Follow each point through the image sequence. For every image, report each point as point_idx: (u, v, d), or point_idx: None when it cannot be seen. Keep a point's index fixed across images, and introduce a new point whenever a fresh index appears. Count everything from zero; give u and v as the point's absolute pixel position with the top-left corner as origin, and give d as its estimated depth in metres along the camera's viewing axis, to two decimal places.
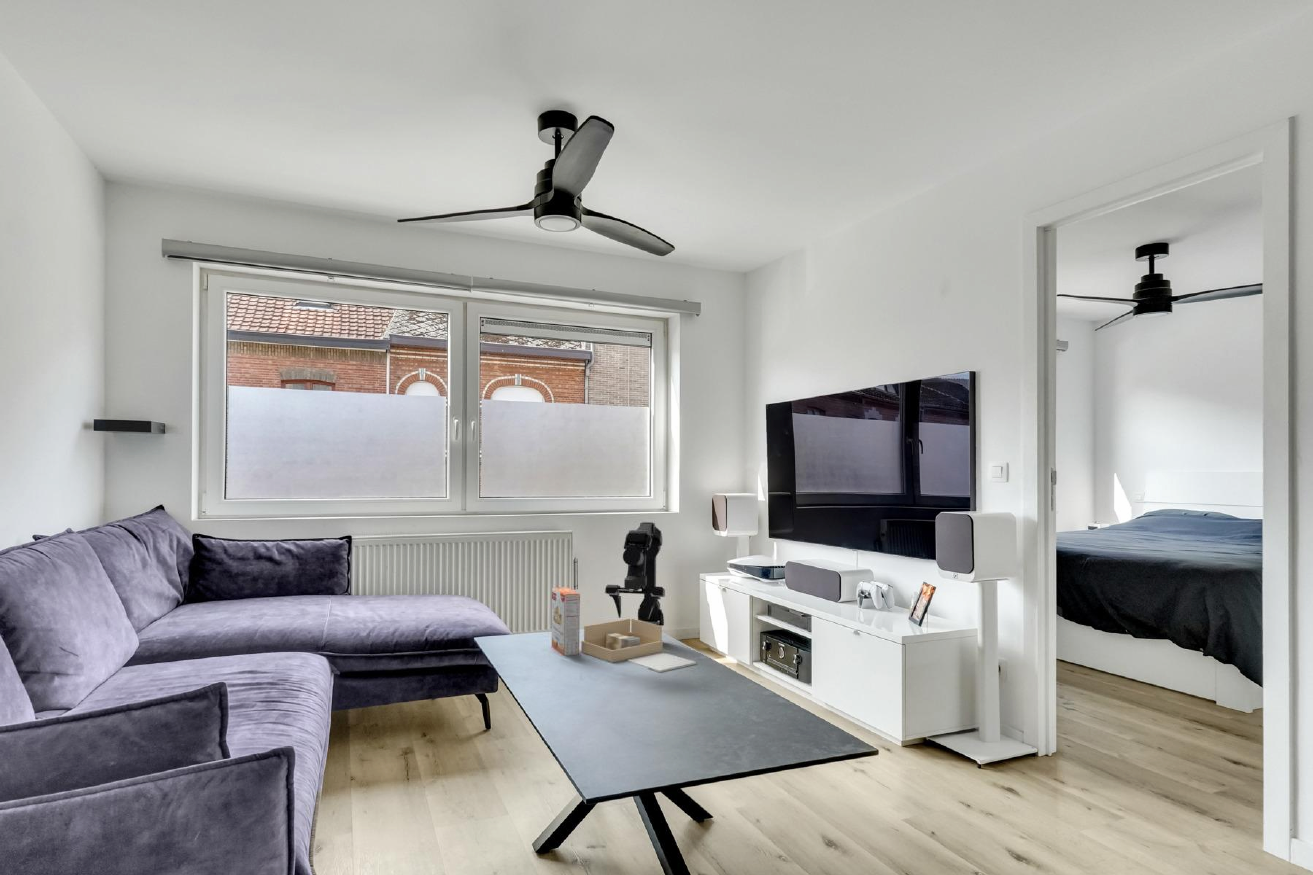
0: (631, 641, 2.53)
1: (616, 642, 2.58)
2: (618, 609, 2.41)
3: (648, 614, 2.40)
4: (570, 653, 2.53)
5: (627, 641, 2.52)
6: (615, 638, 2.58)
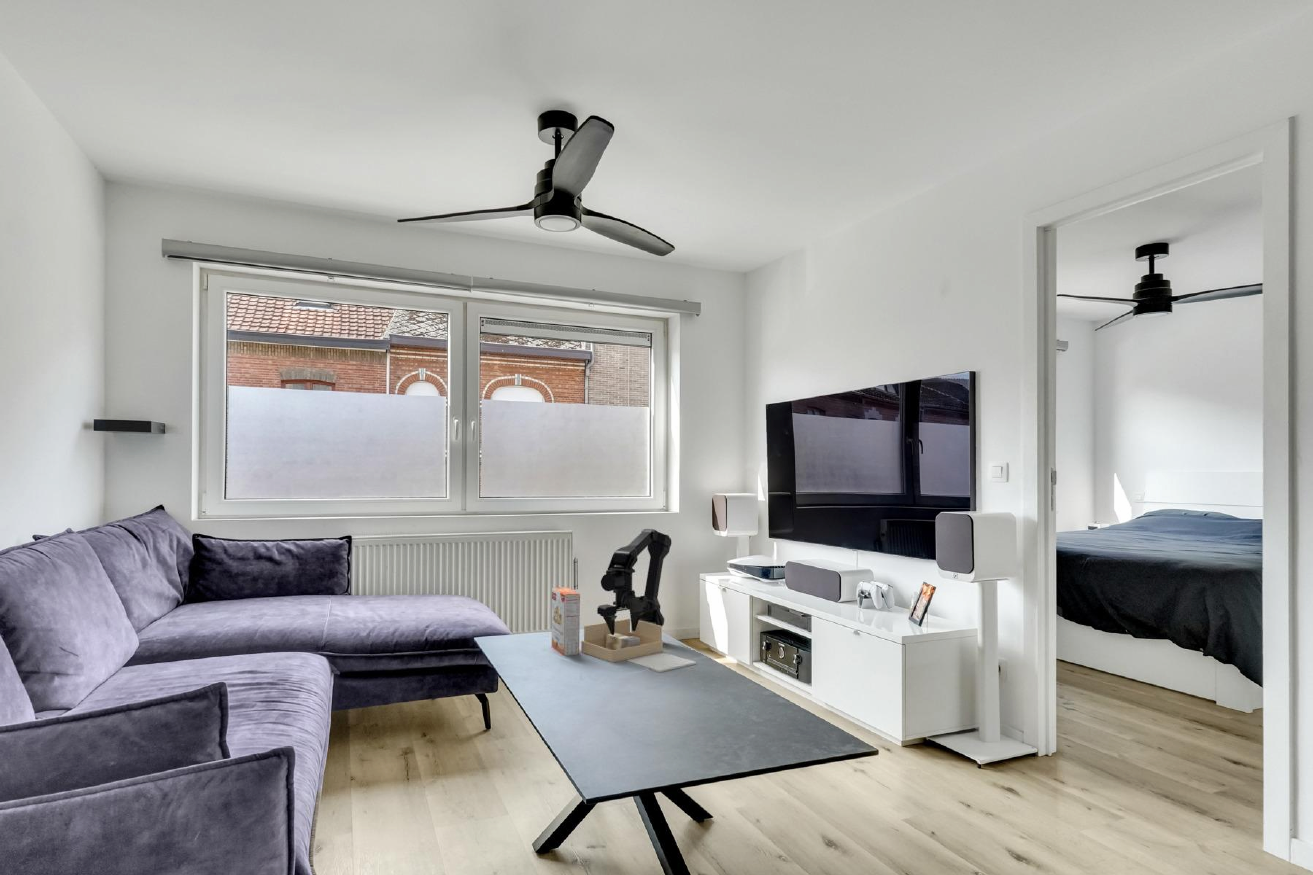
0: (631, 641, 2.53)
1: (616, 642, 2.58)
2: (613, 628, 2.54)
3: (635, 627, 2.61)
4: (570, 653, 2.53)
5: (627, 641, 2.52)
6: (615, 638, 2.58)
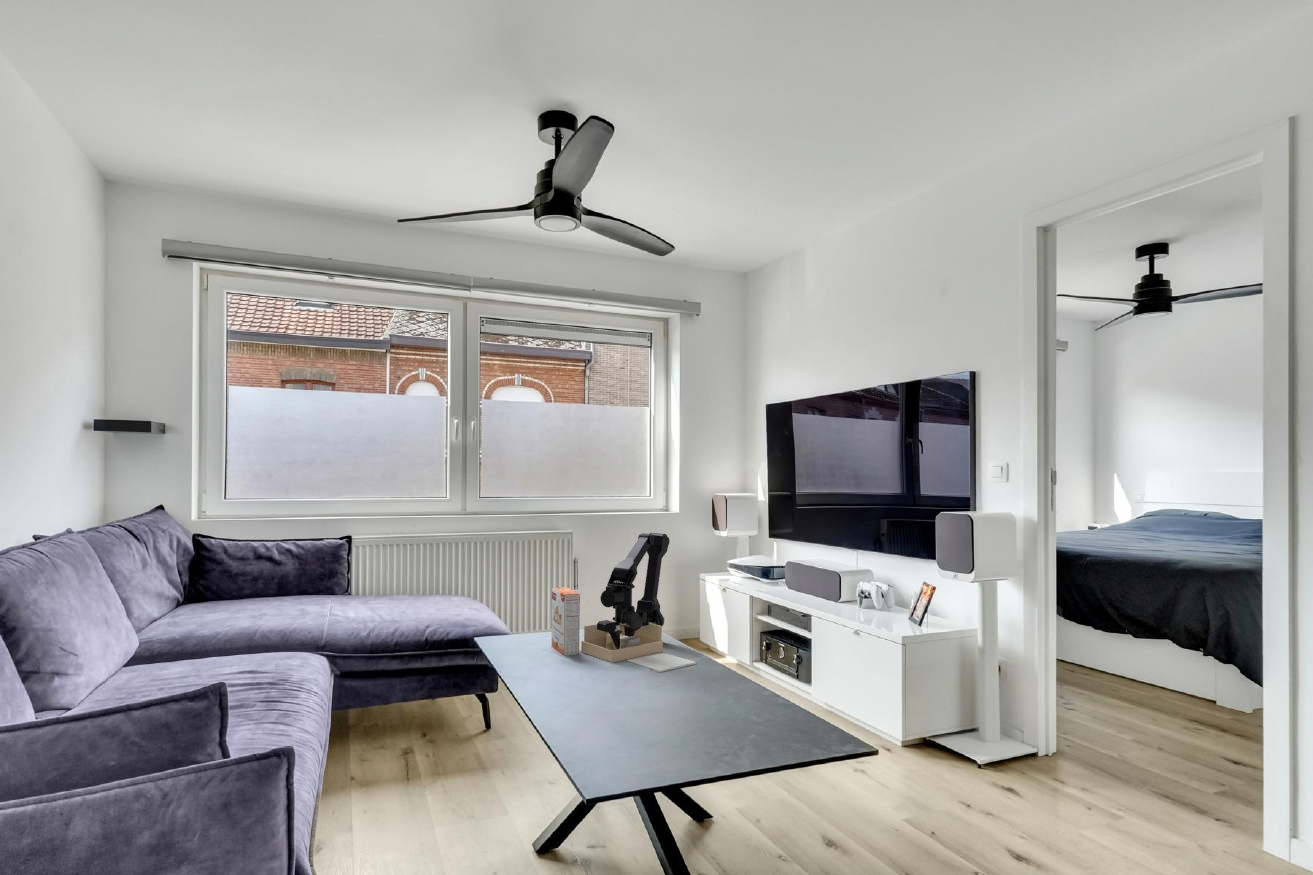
0: (631, 641, 2.53)
1: None
2: (619, 642, 2.56)
3: None
4: (570, 653, 2.53)
5: (627, 641, 2.52)
6: None
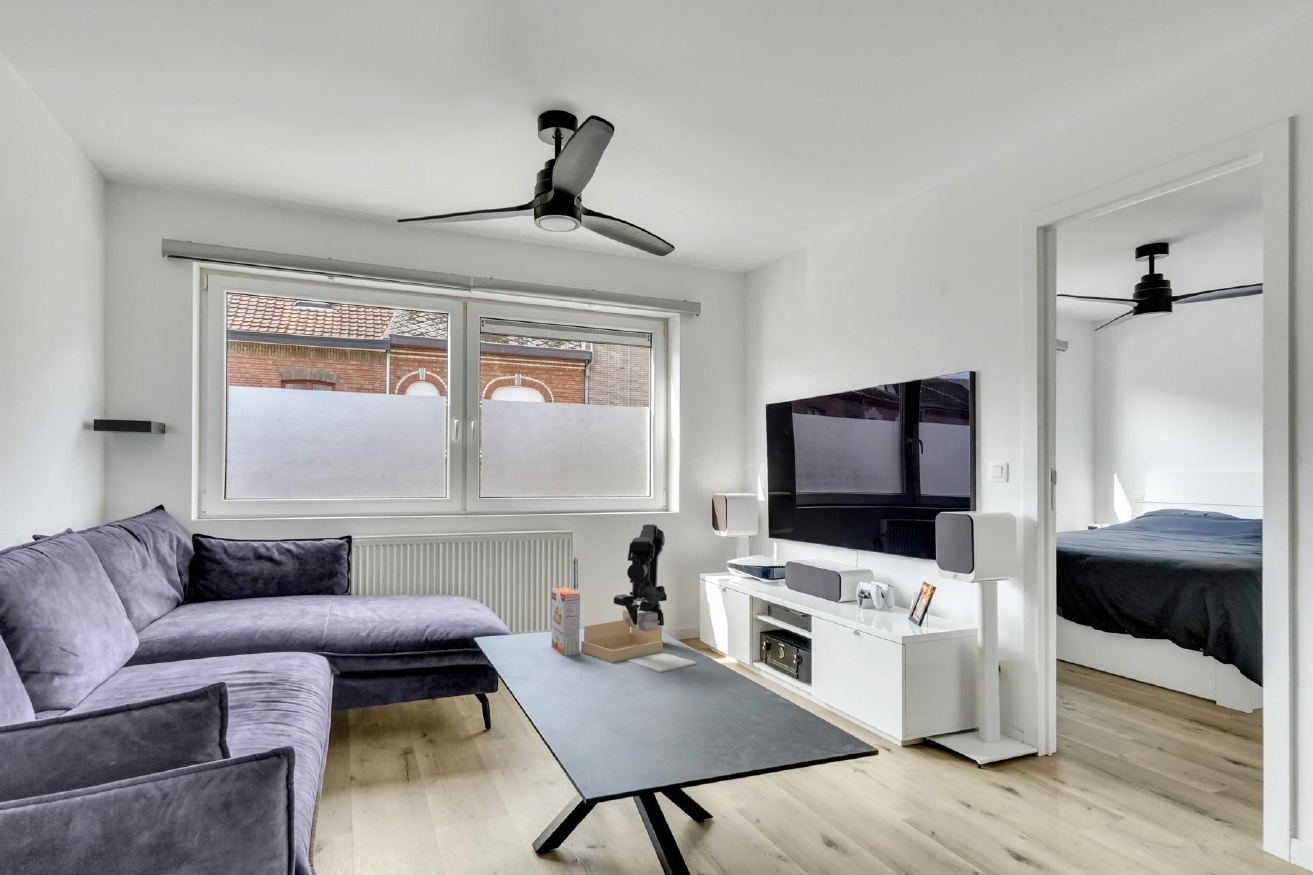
0: (649, 615, 2.47)
1: None
2: (636, 617, 2.50)
3: None
4: (570, 653, 2.53)
5: (645, 615, 2.47)
6: None
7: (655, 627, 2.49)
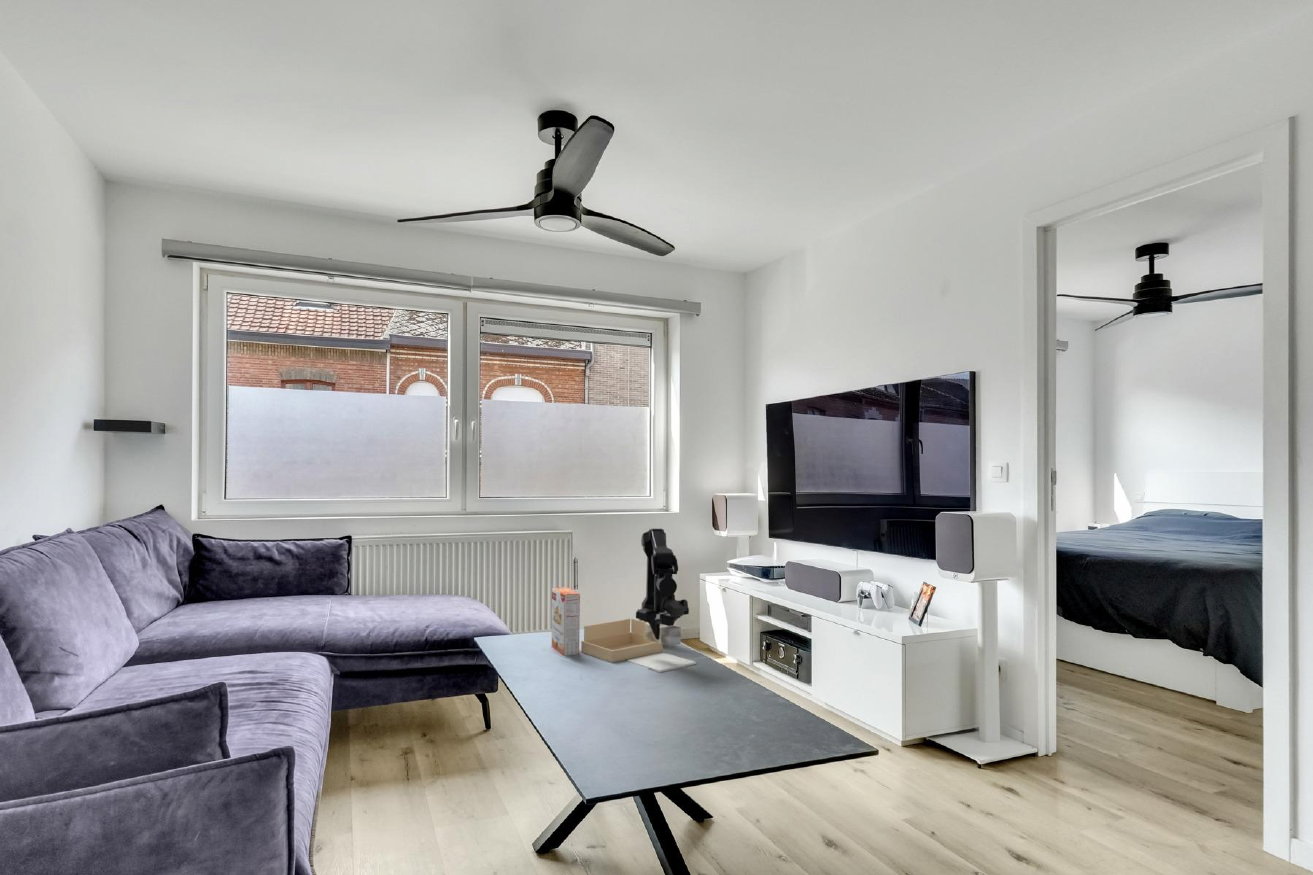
0: (672, 630, 2.41)
1: None
2: (658, 632, 2.44)
3: None
4: (570, 653, 2.53)
5: (668, 630, 2.40)
6: None
7: (678, 642, 2.42)
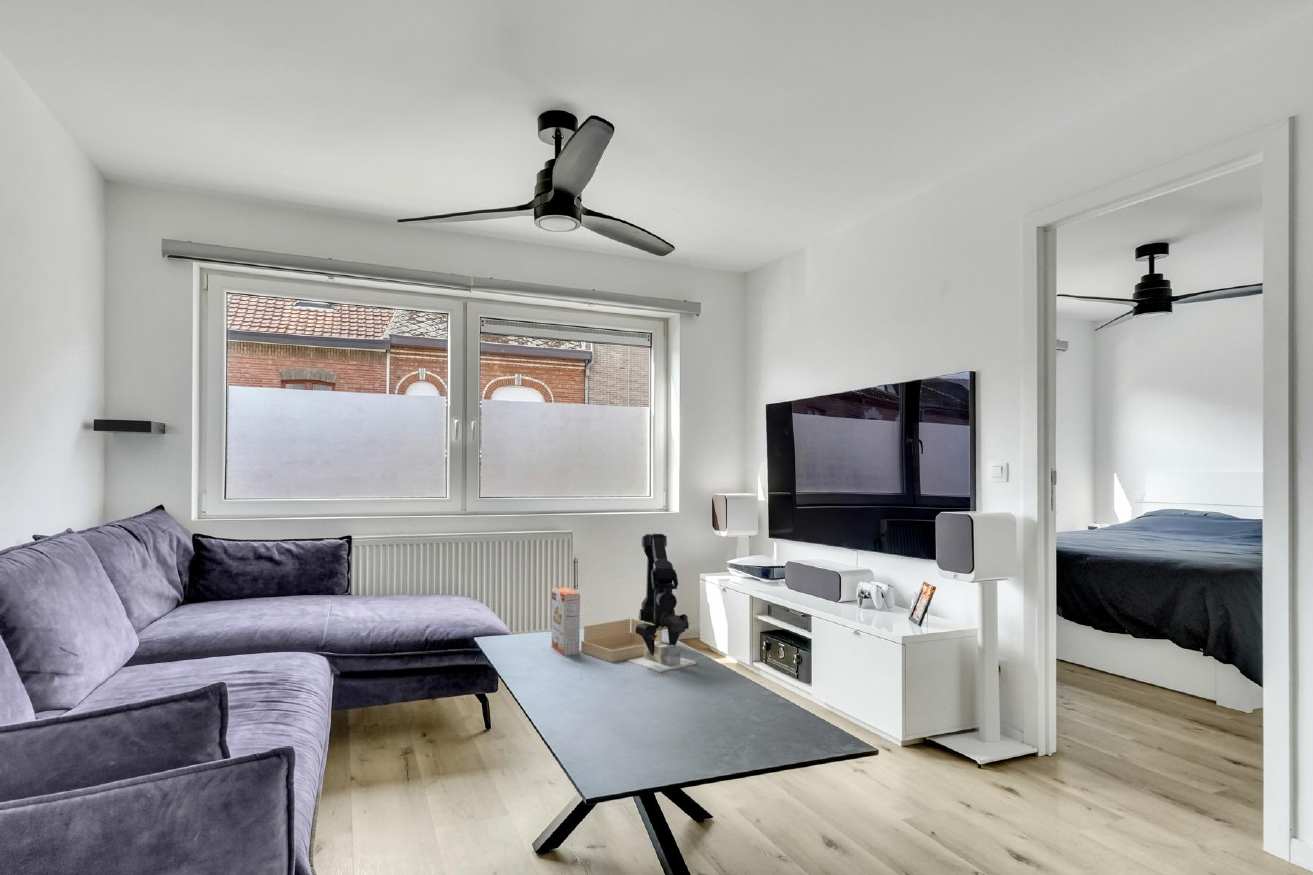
0: (672, 650, 2.40)
1: (655, 651, 2.45)
2: (653, 648, 2.42)
3: None
4: (570, 653, 2.53)
5: (667, 650, 2.40)
6: (654, 647, 2.46)
7: (678, 661, 2.42)
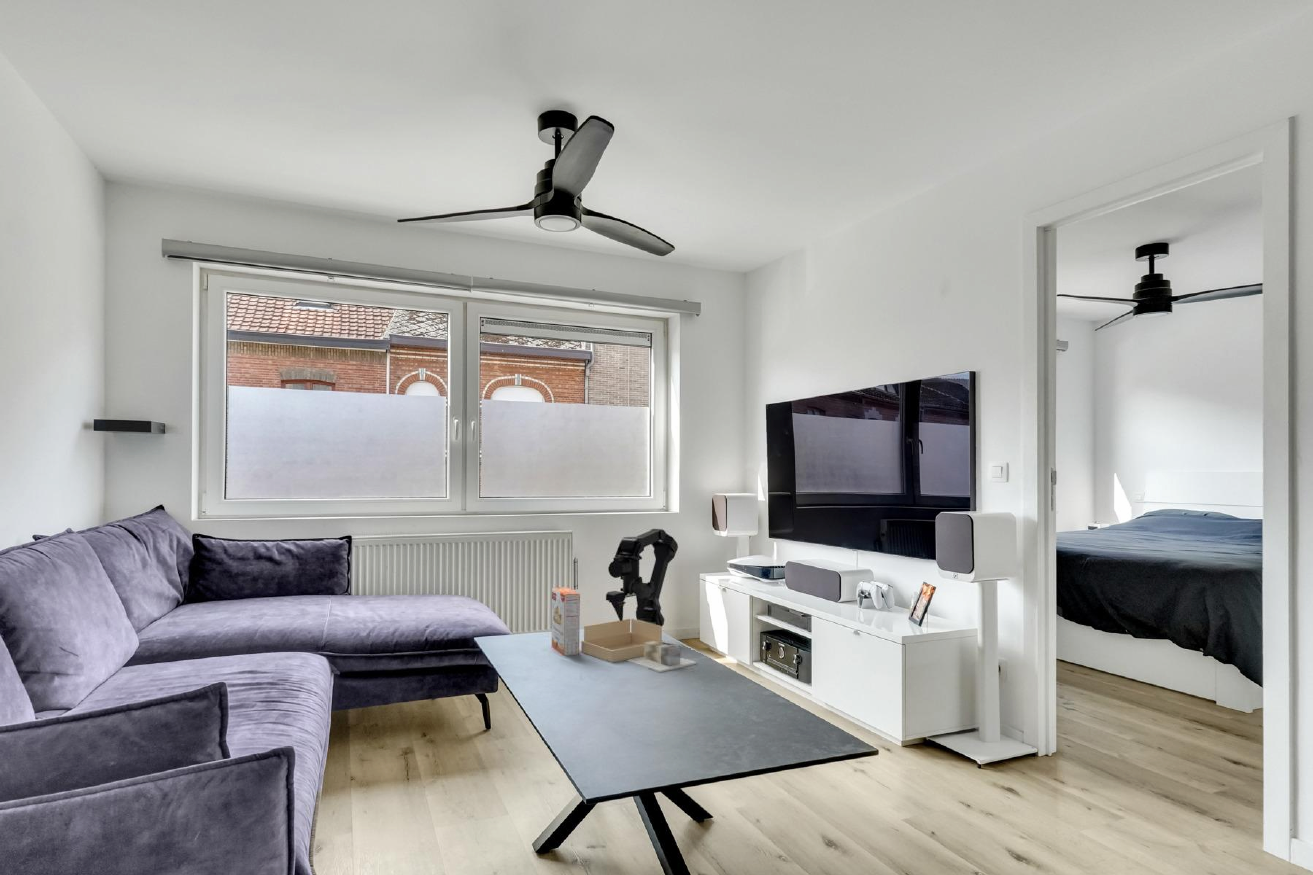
0: (672, 650, 2.40)
1: (655, 651, 2.45)
2: (622, 614, 2.59)
3: (642, 612, 2.66)
4: (570, 653, 2.53)
5: (667, 650, 2.40)
6: (654, 647, 2.46)
7: (678, 661, 2.42)
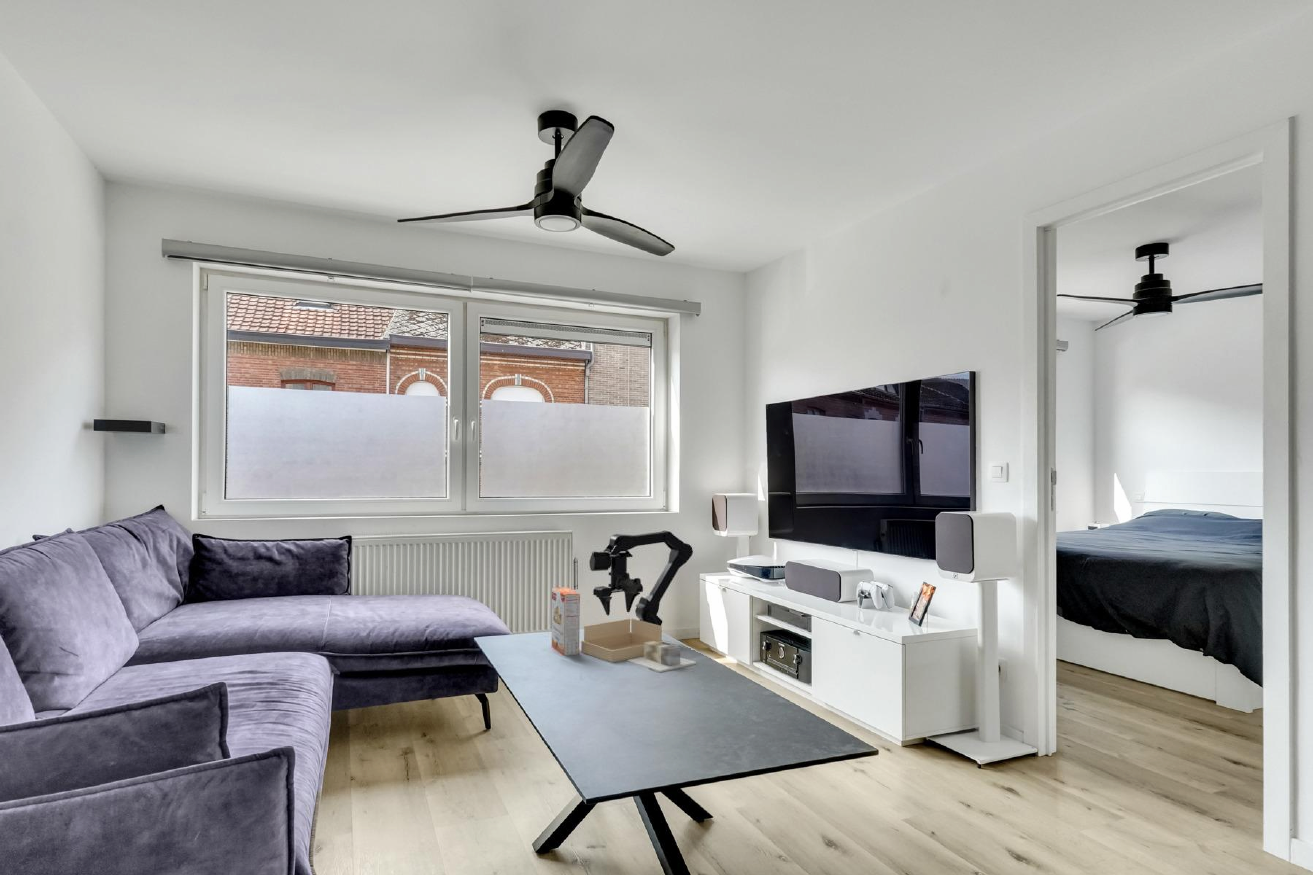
0: (672, 650, 2.40)
1: (655, 651, 2.45)
2: (609, 608, 2.66)
3: (630, 608, 2.73)
4: (570, 653, 2.53)
5: (667, 650, 2.40)
6: (654, 647, 2.46)
7: (678, 661, 2.42)
